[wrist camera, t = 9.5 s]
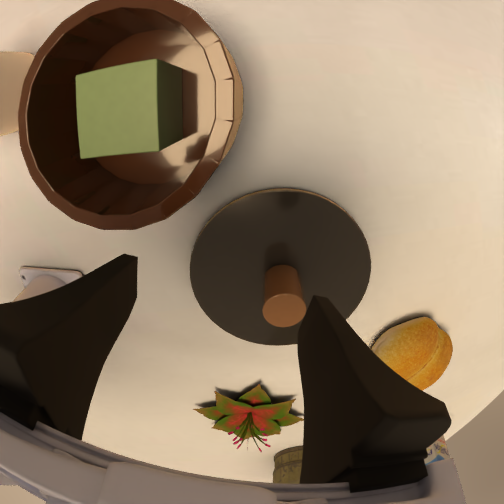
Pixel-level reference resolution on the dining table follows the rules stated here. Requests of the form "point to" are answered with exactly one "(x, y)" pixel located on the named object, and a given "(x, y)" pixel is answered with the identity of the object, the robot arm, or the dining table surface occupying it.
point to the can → (12, 87)
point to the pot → (138, 164)
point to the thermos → (288, 466)
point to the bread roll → (415, 351)
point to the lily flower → (250, 415)
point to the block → (129, 108)
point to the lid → (277, 263)
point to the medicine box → (437, 451)
